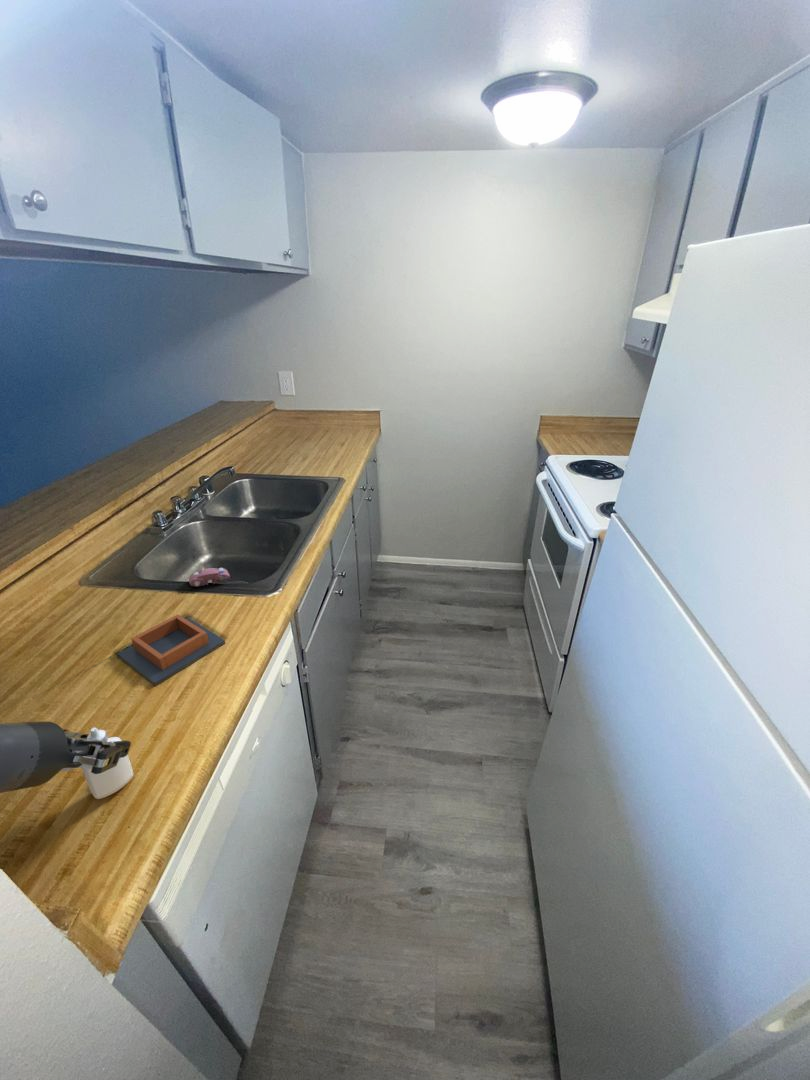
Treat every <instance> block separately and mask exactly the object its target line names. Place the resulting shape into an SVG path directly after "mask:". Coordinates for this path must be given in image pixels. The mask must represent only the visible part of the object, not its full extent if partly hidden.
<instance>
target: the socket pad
mask: <svg viewBox="0 0 810 1080" xmlns="http://www.w3.org/2000/svg"><path fill="white" fill-rule="evenodd" d="M130 640H131V643H132V644H131V645H130V646H128V647H126V648H124V649H122V650H120V651H118V652H117V653H116V655H117V658H118V659H120V660H121V661H122V662H123V663H125V664H126V665H127V666H129V667H130V668H131V669H132V670H134V671H135V672H136V673H138V674H139V675H140V676H141V677H143V678H144V679H145V680H147V681H148V682H149V683H150V684H151V685H153V686H154V687H157V686H158V685H161V684H162V683H164V682H165V681H167V680H168V679H170V678H172V677H173V676H175V675H176V674H178V673H180V672H182V671H183V670H184V669H186V668H188V667H189V666H191V665H193V664H194V663H196V662H198V661H199V660H201V659H202V658H204V657H205V656H207V655H209V654H210V653H212V652H214V651H215V650H217V649H219V648H220V647H222V646H223V645H225V644H226V640H225V639H224V638H222V637H221V636H219V635H218V634H216V633H214V632H213V631H212V630H209V629H208V628H206V627H204V626H203V625H201V624H200V623H198V622H197V621H195V620H193V619H192V618H190V617H188V616H185V617H183V616H182V615H179V614H176V615H174V616H172V617H170V618H168V619H166V620H164V621H162V622H160V623H158V624H157V625H154V626H152V627H150V628H149V629H148V628H147V629H146V630H145V631H142V632H141V633H139V634H137V635H134V636H133V637H131V638H130Z"/></svg>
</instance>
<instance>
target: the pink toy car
mask: <svg viewBox="0 0 810 1080" xmlns="http://www.w3.org/2000/svg"><path fill="white" fill-rule="evenodd" d="M230 577H231V575H230V573H229V571H228V570H227V569H226V568H224V567H219V568H218V567H217V568H215V567H213V568H212V567H207V568H204V569H202V570H199V571H194V572H193V573H191V574H190V576H189V578H188V584H189V585H190V587H196V588H197V587H202V586H208V585H209V581H211V584H212V585H215V584H220V583H225V582H226V581H229V580H230Z"/></svg>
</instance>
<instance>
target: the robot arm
mask: <svg viewBox="0 0 810 1080" xmlns="http://www.w3.org/2000/svg"><path fill="white" fill-rule="evenodd" d="M89 734H90V733H83V732H80V731H77V732H75V731H71V730H69V729H63V728H62V726H60V725H59V724H58V723H56V722H53V721H47V720H45V721H27V722H26V721H23V722H2V723H1V722H0V794H2V793H3V794H4V793H9V792H13V791H20V790H24V789H29V788H35V787H38V786H42V785H44V784H46V783H48V782H49V781H50V780H52V779H53V778H54V777H55V776H56V775H57V774H58V773H59V772H61V771H63V772H66V771H72V770H73V769H82V768H83V767H92V770H91V772H92V773H94V774H100V773H103V772H105V771H107V770H109V769H111V768H113V767H115V766H117V763H118V760H119V758H122V757H125V756H127V754H128V755H129V752H130V750H131V749H130V748H131V745H132V742H131V741H129V740H127V739H126V740H122V741H115V742H102V741H101V740H98V739H96V738H87V737H88V735H89ZM89 745H90V746H89ZM101 748H104V750H100V749H101Z"/></svg>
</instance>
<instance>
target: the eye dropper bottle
mask: <svg viewBox="0 0 810 1080" xmlns="http://www.w3.org/2000/svg"><path fill="white" fill-rule="evenodd" d="M88 734H89V735H88V737H87V738H96V739H98V740H101V741H102V742H115V741H123V740H122V739H121V738H120V737H118V736H112V737H108V733H107V732H106V730H104V729H98V728H97V727H96V726H95V727H92V728H91V729H90V733H88ZM89 746H90V745H89ZM100 750H104V748H101V749H100ZM81 770H82V773H83V776H84V778H85V780H86V783H87V786H88V788H89V791H90V793H91V794H92V796H93V797H94V799H96V800H100V799H104V798H107V797H108V796H109V797H110V795H113V794H115V793H116V792H118V791H120V790H121V789H122V788H124V787H125V786H126V785H127V784H128V783H129V782H130V781H131V780H132V778H133V777H134V776H135V773H134V769H133V767H132V763H131V760H130V758H129V753H128V754H127V756H125V757H122V758H119V760H118V763H117V766H115V767H113V768H111V769H109V770H107V771H105V772H103V773H100V774H94V773H92V772H91V770H92V767H83V768H81Z"/></svg>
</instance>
